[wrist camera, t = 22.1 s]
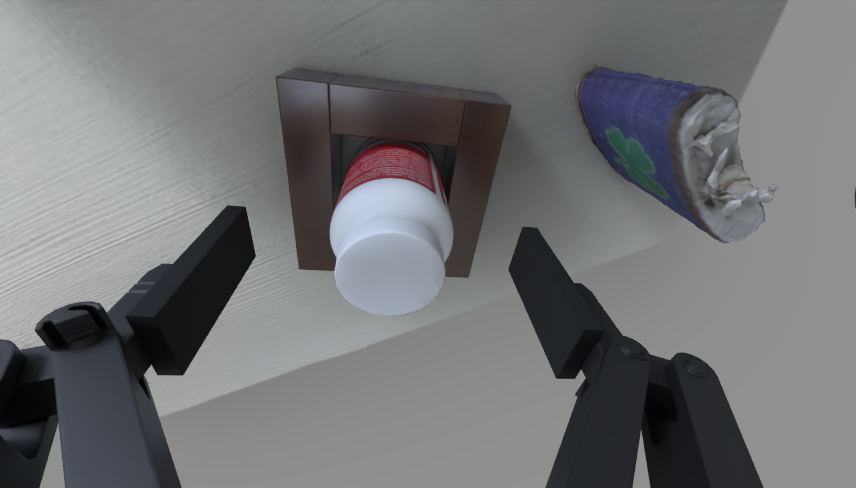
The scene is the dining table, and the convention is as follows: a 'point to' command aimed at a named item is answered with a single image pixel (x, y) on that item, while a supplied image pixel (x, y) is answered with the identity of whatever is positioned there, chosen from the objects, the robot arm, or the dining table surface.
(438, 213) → the pill bottle
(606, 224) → the dining table surface
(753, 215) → the flask
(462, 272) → the socket base
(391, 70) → the dining table surface
